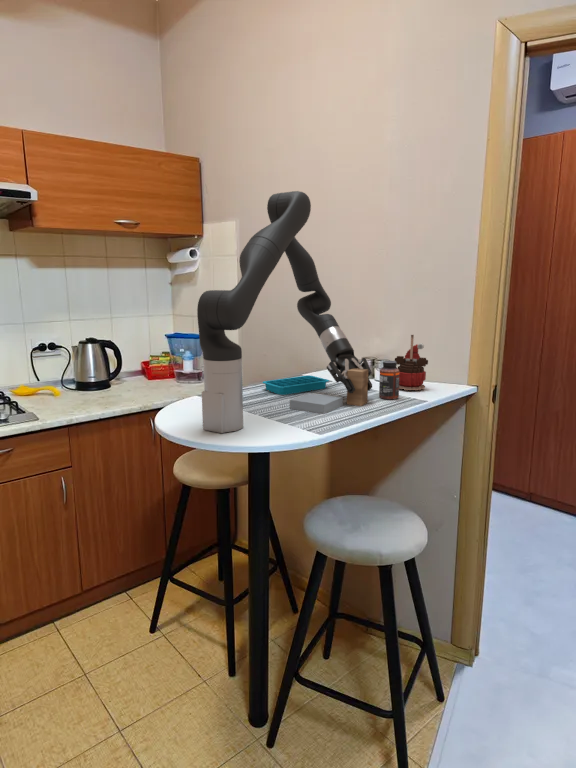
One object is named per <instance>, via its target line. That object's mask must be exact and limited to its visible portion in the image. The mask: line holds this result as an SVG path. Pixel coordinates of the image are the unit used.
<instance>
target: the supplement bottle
mask: <svg viewBox="0 0 576 768" xmlns="http://www.w3.org/2000/svg"><path fill="white" fill-rule="evenodd" d="M396 363H397V362H396V361H395V360H384V361H383V362H382V367H381V368H380V369H379V385H378V386H379V388H378V389H379V390H378V396H379V399H382V400H397V399H399V397H400V389H399V369H398V366H397V364H396Z"/></svg>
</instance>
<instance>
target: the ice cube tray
mask: <svg viewBox="0 0 576 768" xmlns="http://www.w3.org/2000/svg"><path fill="white" fill-rule="evenodd" d="M329 382H330V379H327V378H322V377H319V376H314V375H302V376H301V375H300V376H293V377H287V378H285V377H284V378H280V379H271V380H265V381H262V384H264V386H265V391H267V390H269V391H268V392H270V391H271V393H273V392H274V393H275V394H277V395H281V396H284V395H285V396H286V395H292V394H298V393H304V392H312V391H317V390H323V389H326V387H327V383H329ZM311 390H312V391H311Z"/></svg>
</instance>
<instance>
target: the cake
mask: <svg viewBox="0 0 576 768" xmlns="http://www.w3.org/2000/svg"><path fill="white" fill-rule="evenodd" d="M414 338H415V337H414V334H410V348H409V349H408V350H407V351H406V353H405V355H404V356H403V355H397V356H396V357H395V358H394V361H396V365H399V366H397V368H398V369H399V390H402V389H404V390H403V391H408V390H415V391H418V390H419V391H420V390H424V389H425V388H426V385H425V384H424V381H426V377H427V375H426V373H427V372H426V371H425V367H426V366H427V365H428V364H429V360H428V359H427V357H421V356H420V353H419V350H423V349H424V347H425V345H424V344H423V343H417V344H414V340H415V339H414Z"/></svg>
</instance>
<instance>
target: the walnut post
mask: <svg viewBox="0 0 576 768" xmlns="http://www.w3.org/2000/svg"><path fill="white" fill-rule="evenodd" d="M347 374H348V375H349V378H348V379H350V380H351V382H352V384H353V386H354V387H355V391H354V392H353V393H349V392H348V391H347V390H346V404H347V405H349V406H350V405H351V406H357V407H362V406H365V405H366V404H368V395H369V394H368V393H369V392H368V378H369V377H368V369H358V368H354V369H350V370H348V371H347Z"/></svg>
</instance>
